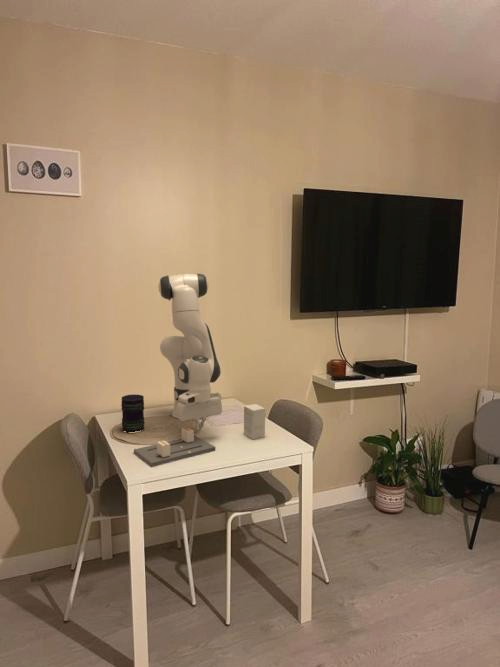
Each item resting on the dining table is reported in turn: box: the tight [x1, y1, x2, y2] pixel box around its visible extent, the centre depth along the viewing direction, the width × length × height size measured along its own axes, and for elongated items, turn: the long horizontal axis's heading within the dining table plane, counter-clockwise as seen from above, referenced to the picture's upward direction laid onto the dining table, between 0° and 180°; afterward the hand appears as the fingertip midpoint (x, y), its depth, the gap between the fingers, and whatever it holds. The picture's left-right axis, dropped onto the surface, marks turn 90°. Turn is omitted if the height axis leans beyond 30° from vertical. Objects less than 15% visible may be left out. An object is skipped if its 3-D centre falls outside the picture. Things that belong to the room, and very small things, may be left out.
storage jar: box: [121, 394, 145, 432], centre depth 223 cm, size 10×10×15 cm
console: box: [133, 435, 216, 468], centre depth 199 cm, size 28×16×2 cm, turn 127°
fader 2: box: [180, 427, 195, 443], centre depth 206 cm, size 3×5×5 cm, turn 37°
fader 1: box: [156, 440, 170, 457], centre depth 191 cm, size 3×5×5 cm, turn 37°
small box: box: [243, 403, 266, 440], centre depth 217 cm, size 8×6×13 cm
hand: (199, 427), depth 209 cm, fingers closed
